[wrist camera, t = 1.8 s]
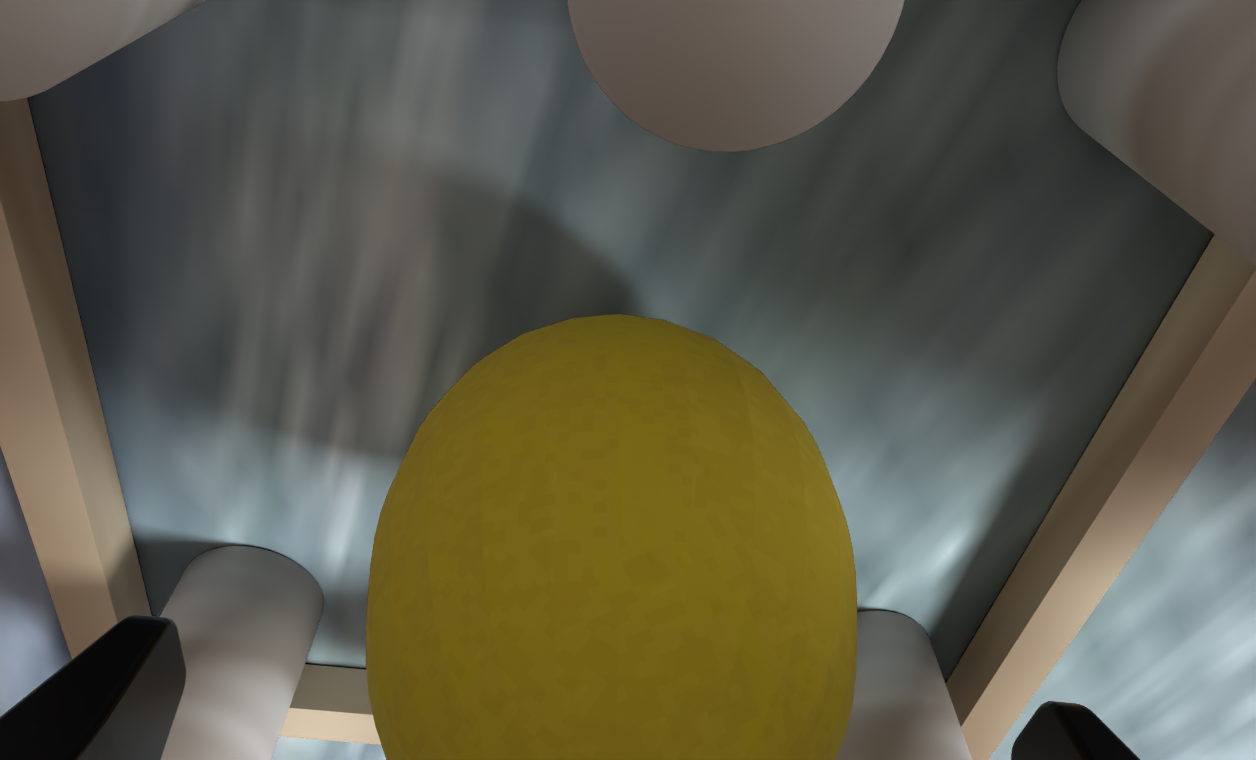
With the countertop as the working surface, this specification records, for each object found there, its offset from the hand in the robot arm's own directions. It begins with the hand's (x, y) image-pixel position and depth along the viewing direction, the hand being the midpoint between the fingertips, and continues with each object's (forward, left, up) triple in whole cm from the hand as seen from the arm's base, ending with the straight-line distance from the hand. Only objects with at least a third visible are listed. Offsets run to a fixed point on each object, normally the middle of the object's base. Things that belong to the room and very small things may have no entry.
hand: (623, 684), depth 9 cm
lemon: (0, 0, -6) cm, 6 cm away
